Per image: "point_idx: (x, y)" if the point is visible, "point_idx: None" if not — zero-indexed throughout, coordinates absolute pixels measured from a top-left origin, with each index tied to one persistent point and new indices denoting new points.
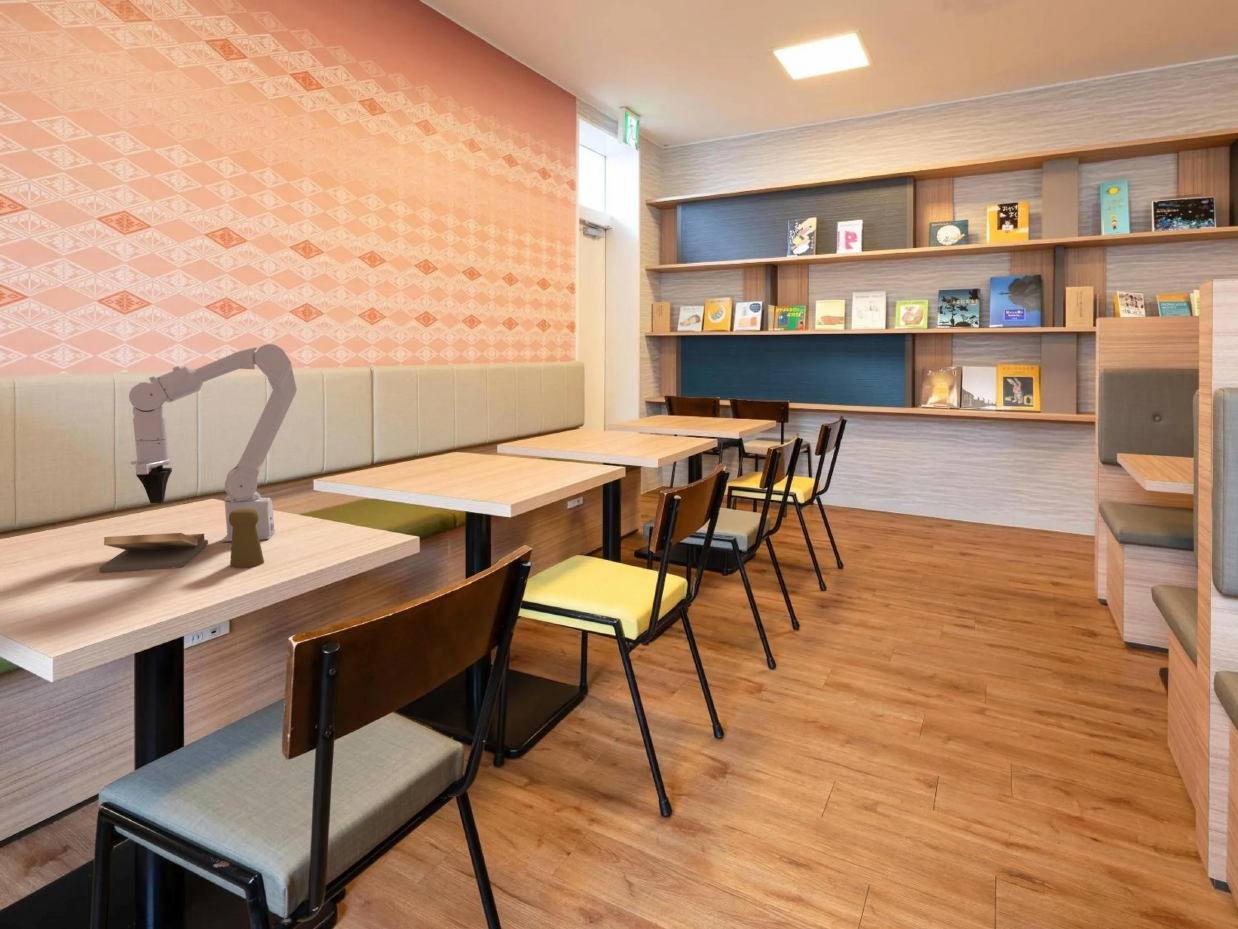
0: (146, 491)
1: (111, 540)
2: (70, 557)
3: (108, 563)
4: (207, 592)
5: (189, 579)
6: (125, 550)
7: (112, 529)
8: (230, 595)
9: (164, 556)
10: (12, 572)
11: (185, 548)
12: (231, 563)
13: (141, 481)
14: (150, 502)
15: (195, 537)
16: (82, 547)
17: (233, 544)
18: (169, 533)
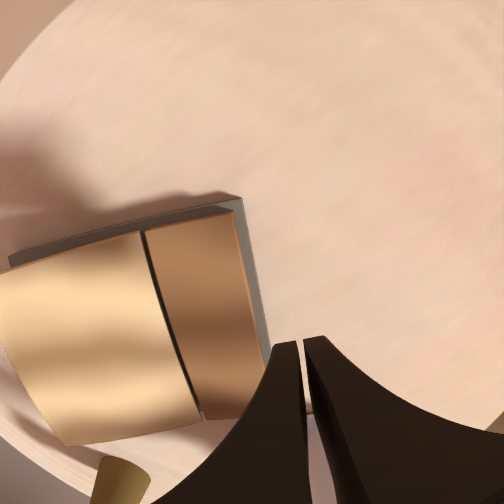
0: (250, 400)
1: None
2: (142, 56)
3: (30, 258)
4: (18, 434)
5: (38, 416)
6: (144, 223)
7: (481, 27)
8: (23, 451)
9: None
10: (33, 43)
11: None
12: (102, 462)
13: (187, 478)
14: (274, 347)
15: (220, 411)
16: (273, 12)
17: (93, 489)
18: (51, 428)
